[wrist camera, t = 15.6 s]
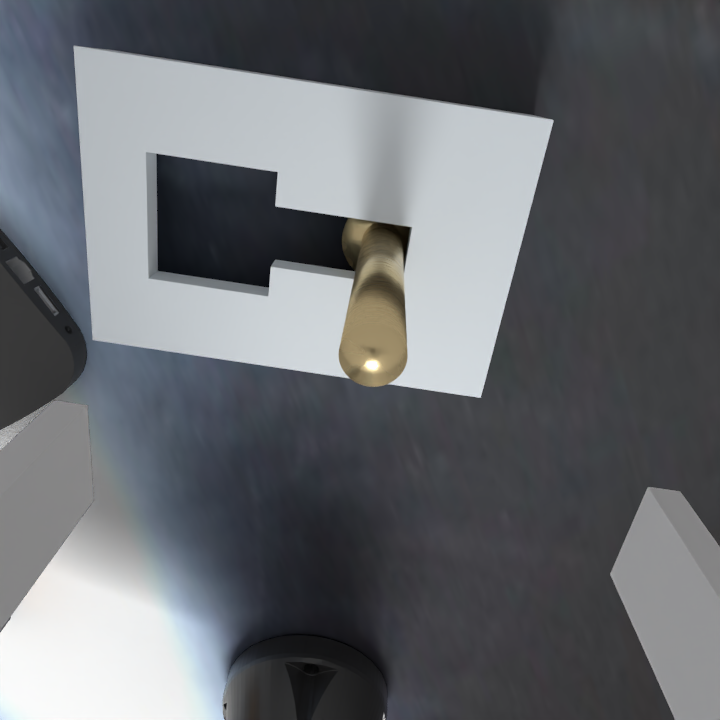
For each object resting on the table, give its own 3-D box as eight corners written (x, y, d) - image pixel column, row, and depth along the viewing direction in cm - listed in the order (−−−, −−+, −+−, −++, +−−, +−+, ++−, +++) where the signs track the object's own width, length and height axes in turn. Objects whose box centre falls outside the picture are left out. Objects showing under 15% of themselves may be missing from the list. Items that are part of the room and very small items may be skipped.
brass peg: (374, 285, 38) (359, 437, 22) (329, 226, 37) (276, 341, 20) (436, 242, 37) (469, 370, 20) (391, 178, 35) (388, 261, 19)
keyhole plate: (123, 313, 40) (92, 340, 36) (112, 49, 33) (73, 45, 29) (471, 365, 40) (480, 397, 36) (534, 115, 33) (553, 119, 29)
